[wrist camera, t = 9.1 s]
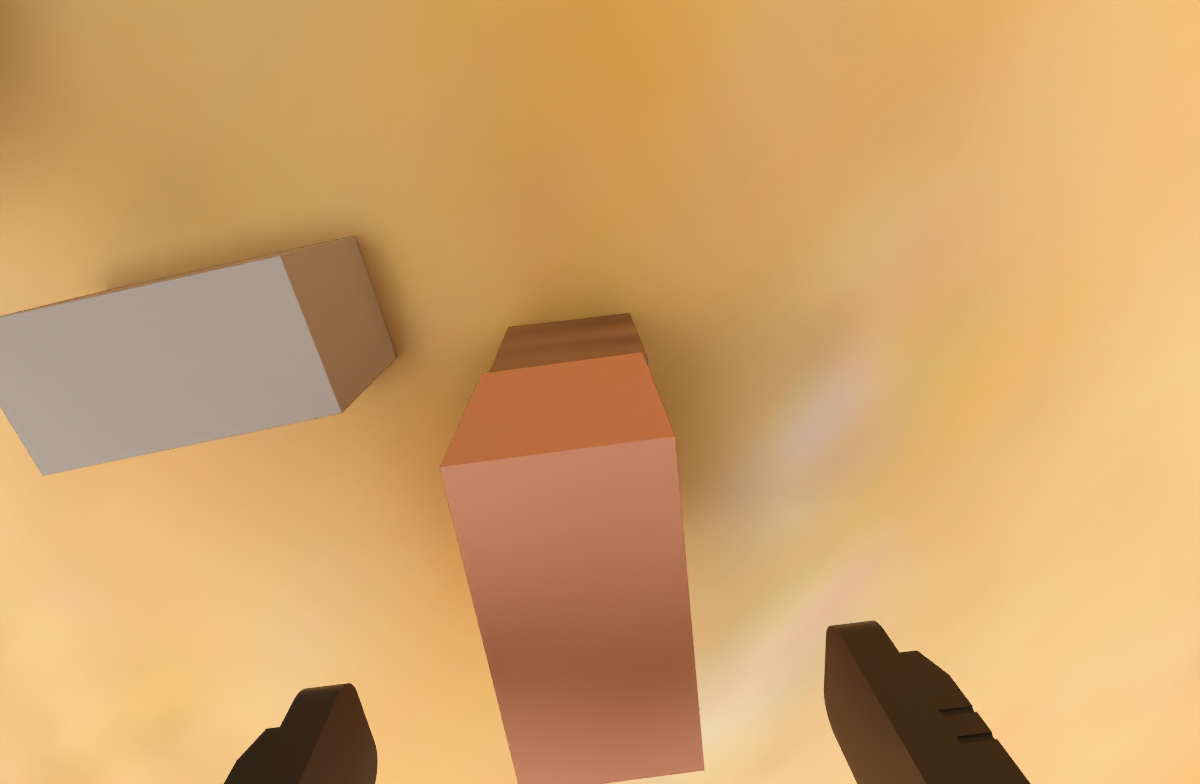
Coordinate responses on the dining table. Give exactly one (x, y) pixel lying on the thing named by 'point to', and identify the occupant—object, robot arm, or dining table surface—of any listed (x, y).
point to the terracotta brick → (579, 569)
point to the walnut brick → (567, 342)
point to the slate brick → (192, 356)
